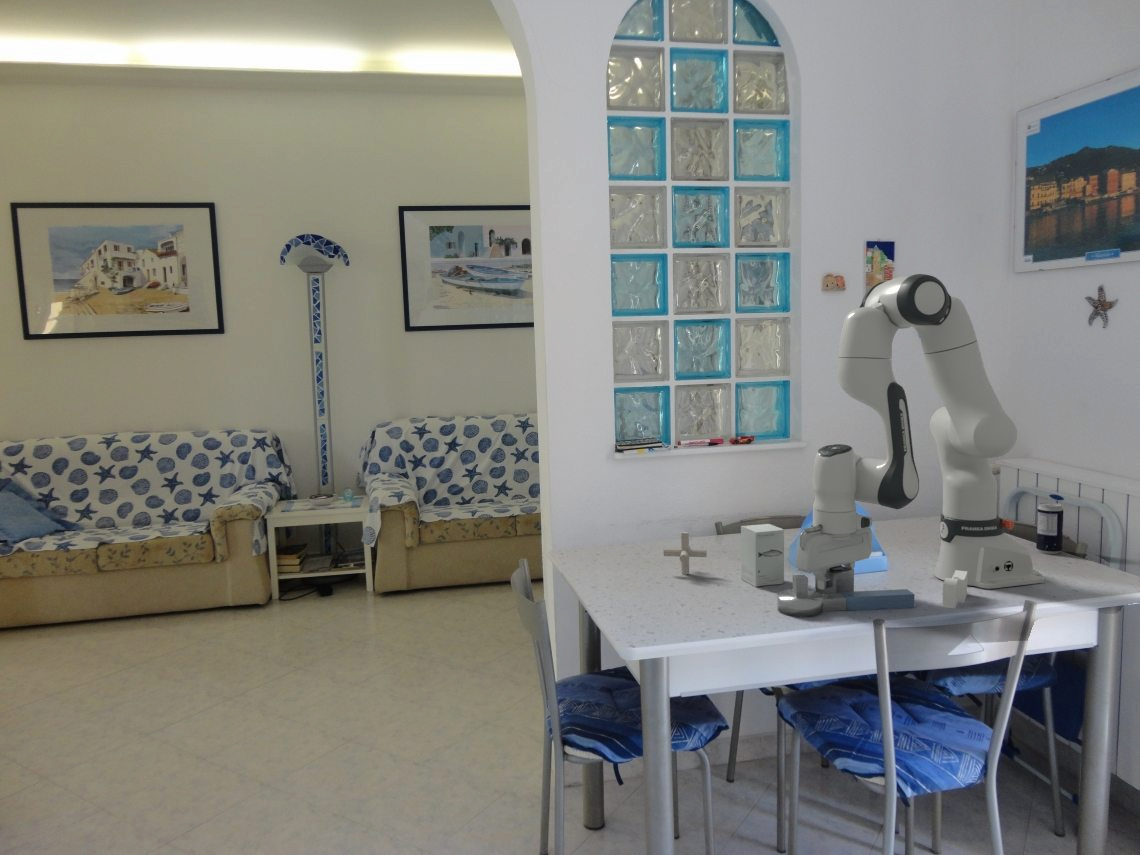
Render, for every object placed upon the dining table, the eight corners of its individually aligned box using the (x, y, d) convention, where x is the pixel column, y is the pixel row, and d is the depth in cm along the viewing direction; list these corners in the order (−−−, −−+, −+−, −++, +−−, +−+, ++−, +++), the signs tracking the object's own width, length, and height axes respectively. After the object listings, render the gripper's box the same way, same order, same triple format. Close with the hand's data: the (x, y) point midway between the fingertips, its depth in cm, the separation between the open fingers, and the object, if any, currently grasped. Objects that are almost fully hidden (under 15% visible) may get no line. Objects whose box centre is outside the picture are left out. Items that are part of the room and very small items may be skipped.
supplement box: (755, 587, 194) (754, 532, 193) (740, 579, 202) (739, 525, 200) (785, 584, 196) (785, 529, 195) (769, 575, 203) (768, 522, 202)
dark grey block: (832, 590, 190) (832, 561, 190) (853, 596, 186) (854, 566, 185) (815, 595, 187) (815, 565, 187) (836, 601, 183) (836, 571, 182)
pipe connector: (705, 580, 201) (705, 537, 200) (662, 579, 203) (661, 537, 202) (707, 568, 211) (707, 528, 210) (666, 567, 213) (665, 527, 212)
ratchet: (900, 598, 184) (901, 565, 183) (920, 611, 175) (920, 577, 174) (772, 604, 182) (772, 571, 182) (785, 618, 173) (785, 583, 173)
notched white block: (958, 590, 190) (958, 564, 189) (1001, 605, 179) (1002, 578, 179) (903, 600, 184) (904, 573, 183) (945, 615, 174) (945, 587, 173)
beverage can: (1066, 554, 214) (1068, 506, 213) (1043, 555, 214) (1044, 507, 213) (1054, 548, 219) (1056, 501, 218) (1031, 549, 220) (1033, 502, 218)
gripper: (812, 531, 177) (812, 598, 178) (877, 517, 188) (877, 580, 189) (788, 526, 182) (788, 591, 183) (853, 513, 193) (853, 574, 194)
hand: (834, 585), depth 186 cm, fingers closed on dark grey block, 6 cm apart
